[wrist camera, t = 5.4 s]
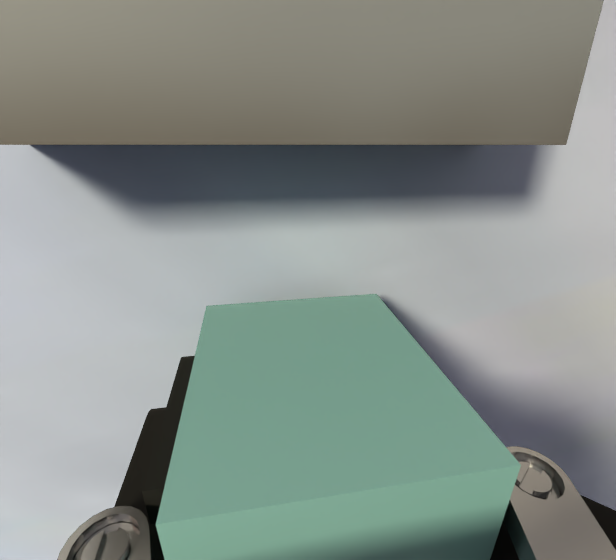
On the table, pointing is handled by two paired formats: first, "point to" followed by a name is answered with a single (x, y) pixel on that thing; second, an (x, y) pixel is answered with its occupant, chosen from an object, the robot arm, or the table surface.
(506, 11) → the base block
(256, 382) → the teal block
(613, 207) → the table surface
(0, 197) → the table surface
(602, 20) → the table surface
